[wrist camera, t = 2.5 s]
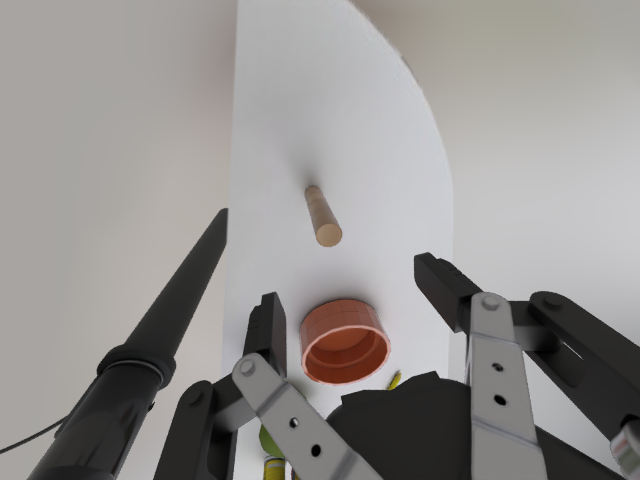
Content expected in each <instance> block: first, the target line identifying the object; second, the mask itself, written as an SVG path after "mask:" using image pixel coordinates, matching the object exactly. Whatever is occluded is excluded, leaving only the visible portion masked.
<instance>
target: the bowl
mask: <svg viewBox="0 0 640 480" xmlns="http://www.w3.org/2000/svg"><path fill="white" fill-rule="evenodd" d="M299 337H300V352H301V365H302V368H303V370H304V373H305V374H306V375H307V376H308V377H309V378H310V379H311V380H313V381H316V382H318V383H320V384H324V385H332V386H339V385H348V384H352V383H356V382H359V381H362V380H364V379H366V378H368V377H370V376H372V375H373V374H374V373H376V372H377V371H378V370H380V369H381V368H382V366H383V365H384V364H385V363H386V361H387V360H388V358H389V355H390V352H391V346H390V340H389V338H388V336H387V334H386V332H385V330H384V328H383V326H382V324H381V321H380V319H379V317H378V315H377V314H376V312H375V311H374V309H373V308H372V307H370V306H369V305H367V304H366V303H364V302H360V301H356V300H336V301H333V302H329V303H325V304H323V305H322V306H320V307H318V308H316V309H314V310H313V311H312V312H311V313H310V314H309V315H308V316H307V317H306V318H305V319H304V321H303V323H302V325H301V327H300V336H299Z"/></svg>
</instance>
